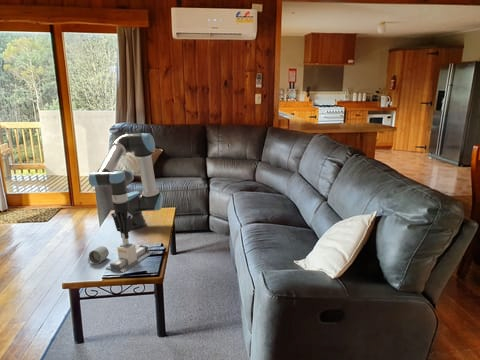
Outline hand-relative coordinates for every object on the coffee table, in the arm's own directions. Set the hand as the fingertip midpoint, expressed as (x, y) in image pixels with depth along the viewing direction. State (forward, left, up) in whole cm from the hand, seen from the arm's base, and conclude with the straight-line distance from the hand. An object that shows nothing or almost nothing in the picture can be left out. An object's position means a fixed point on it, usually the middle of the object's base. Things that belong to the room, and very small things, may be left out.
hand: (125, 243), depth 184 cm
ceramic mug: (+5, -17, -11) cm, 21 cm away
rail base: (-2, 0, -11) cm, 11 cm away
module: (0, 0, -10) cm, 10 cm away
